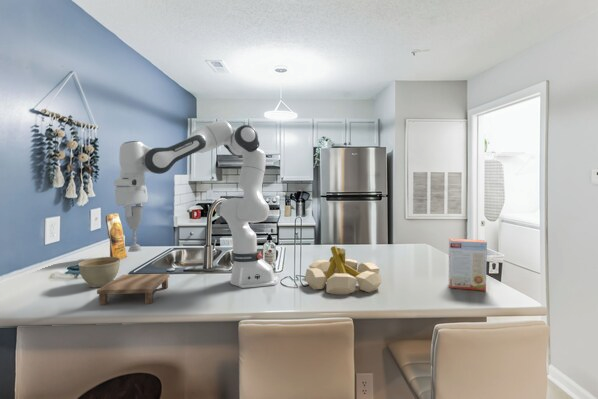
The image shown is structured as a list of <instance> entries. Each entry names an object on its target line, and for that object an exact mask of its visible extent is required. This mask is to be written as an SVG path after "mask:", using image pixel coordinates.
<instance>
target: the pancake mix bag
mask: <svg viewBox="0 0 598 399" xmlns="http://www.w3.org/2000/svg"><path fill="white" fill-rule="evenodd" d="M105 223H106V228H107V236H108V238H109V239H108V240H109V257H117V258H120V261H121V260H123V259H125V258H127V257H128V256H127V250H126V246H125V238H124V237H125V236H124V229H123V225H122V221H121V218H120V214H119V212H114V213H109V214H107V215H106V216H105Z"/></svg>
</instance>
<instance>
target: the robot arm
mask: <svg viewBox="0 0 598 399" xmlns="http://www.w3.org/2000/svg"><path fill="white" fill-rule="evenodd" d="M221 146H224V148H225V149H227V151H228V152H229V153H230V154H231V155H232V156H235V157H242V165H241V170H240V173H239V178H238V180H237V182H238V186H239V188H240V189H242V190H243V196H242V197H233V198H232V197H231V198H227V199H224V200H223V201H222V202H221V204H220V206H219V207H220V208H219V213H220V216H221V217H222V218H223V219H224V220H225V221H226V223H227V225H228V227H229V229H230V233H231V239H232V240H231V241H232V252H231V264H232V268H231V269H232V270H231V276H230V280H229V283H230V284H231V285H233V286H237V287H239V288H241V289H246V288H256V287H257V288H258V287H259V288H260V287H268V286H276V285H277V284H278V283H279V276H278V275H277V274H275V272H274V269H273V266H272V265H271V264H269V263H268V262H267V261H265V260H264V259H262V257H263V254H262V251H259V250H258V240H257V238H258V237H257V234H256V232H255V231H254V230H253V229H252V228H251V227H250V225H249V223H253V224H256V223H260V222H264V221H265V222H266V220H267V219H268V217H269V215H270V206H269V204H268V202H267V201H266V200H265V198H264V196H263V190H262V189H263V184H264V183H263V182H264V176H265V173H266V164H267V156H266V152H265V151H264V150H262V149H260V141H259V136H258V132H257V131H256V129H255V128H254V127H253V126H251V125H249V124H248V125H247V124H243V125H241V126H239V127H237V128H236V129H234V128H233V126H231V124H230V123H229V122H228V121H227V120H223V119H222V120H217V121H213V122H209V123H206V124H204V125H203V126H200V127H199V128H196V129H195V130H193V131H192V132H191V133H190V135H189V136H188V137H187V138H186V139H184V140H182V141H180V142H177V143H175V144H173V145H170V146H168V147H154V148H152V147H149V145H148V146H147V145H146V144H145V143H143V142H142V141H140V140H130V141H125V142H122V144H121V145H120V147H119V152H118V153H119V155H118V157H119V158H118V161H119V165H120V172H119V176H118V178H117V179H115V180H113V186H114V187H115V188H114V197H115V204H116V205H117V206H118V207H123V209H124V208H125V209H124V212H125V211H126V216H127V217H131V216H133V212H132V211H131V206H132V205H133V206H143V204H145V203H148V202H149V196H148V188H147V186H146V182H145V179H146V178H145V176H146V175H145V172H146V173H147V172H148V173H151V174H159V175H160V174H164V173H167V172H169V171H170V170H171V168H172V167H173V166H174V165H175V163H178V162H179V161H180V160H183V159H184V158H187V157H189V156H191V155H194V154H198V153H199V154H200V153H201V154H202V153H206V152H210V151H212V150H214V149H216V148H219V147H221Z"/></svg>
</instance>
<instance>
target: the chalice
mask: <svg viewBox="0 0 598 399" xmlns="http://www.w3.org/2000/svg"><path fill="white" fill-rule="evenodd" d="M143 208H144V206H143V205H142V206H136V205H133V206H132V205H131V211H132V212H133V216H131V217H127V216H126V211H125V208H124V207H123V209H124V213H125V214H124V215H125V216H124V218H125V221H126V224H127V225H128V227H129V229H130V230H132V236H133V237H132V241H133V242H132V244H131V245H130V246H129V248H128V252H130V253H134V252H135V253H136V252H140V251H143V249H142V248H141V246H140V244H139V243H137V239H138V238H137V229H139V227H140V225H141V223H142V220H143Z"/></svg>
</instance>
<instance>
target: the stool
mask: <svg viewBox="0 0 598 399" xmlns="http://www.w3.org/2000/svg"><path fill="white" fill-rule="evenodd" d="M169 278H170V273H141V274H140V273H139V274H136V273H135V274H122V275H120V276H118V277H116V278H114V279H113V281H112V282H110V283H108V284H107V285H105V286H103V287H99V288H97V290H96V295H98V297H99V298H98V300H99V306H106V305H107V304H109V298H108V296H109V295H111V294H112V295H117V294H118V295H119V294H144V300H145V301H144V304H145V305H150V304H153V303H154V302H153V300H154V297H153V292H154V291H155V290H157V288H159V287H160V286H161V289H162V290H167V289H168V288H169Z"/></svg>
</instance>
